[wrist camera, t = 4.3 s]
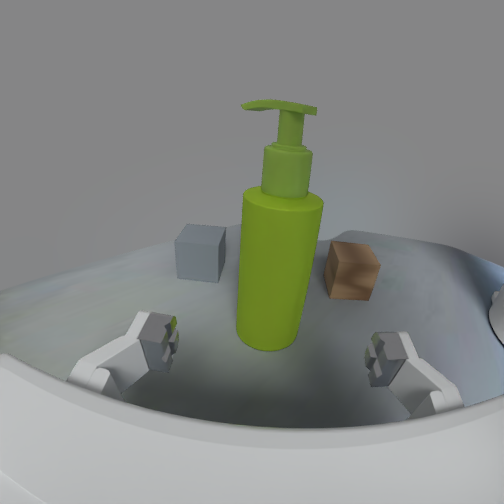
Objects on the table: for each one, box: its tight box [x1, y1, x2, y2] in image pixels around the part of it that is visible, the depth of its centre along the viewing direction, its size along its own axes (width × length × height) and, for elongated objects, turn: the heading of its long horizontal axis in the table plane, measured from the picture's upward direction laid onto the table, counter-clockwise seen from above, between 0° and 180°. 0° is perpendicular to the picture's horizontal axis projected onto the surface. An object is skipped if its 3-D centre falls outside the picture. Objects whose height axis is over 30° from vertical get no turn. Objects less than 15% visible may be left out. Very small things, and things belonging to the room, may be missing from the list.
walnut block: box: [324, 241, 381, 301], centre depth 32 cm, size 5×5×5 cm
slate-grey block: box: [175, 224, 226, 283], centre depth 34 cm, size 5×5×5 cm
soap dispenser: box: [236, 100, 324, 351], centre depth 22 cm, size 6×7×20 cm
